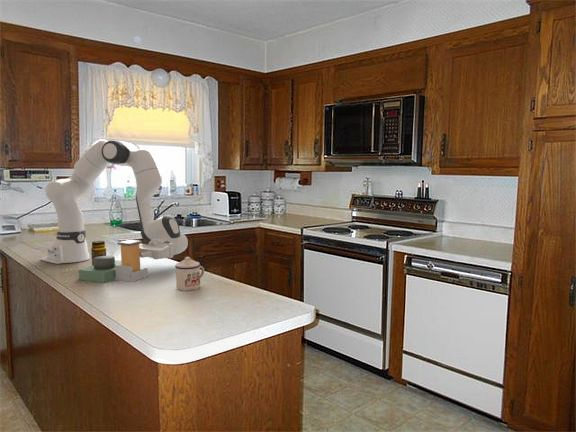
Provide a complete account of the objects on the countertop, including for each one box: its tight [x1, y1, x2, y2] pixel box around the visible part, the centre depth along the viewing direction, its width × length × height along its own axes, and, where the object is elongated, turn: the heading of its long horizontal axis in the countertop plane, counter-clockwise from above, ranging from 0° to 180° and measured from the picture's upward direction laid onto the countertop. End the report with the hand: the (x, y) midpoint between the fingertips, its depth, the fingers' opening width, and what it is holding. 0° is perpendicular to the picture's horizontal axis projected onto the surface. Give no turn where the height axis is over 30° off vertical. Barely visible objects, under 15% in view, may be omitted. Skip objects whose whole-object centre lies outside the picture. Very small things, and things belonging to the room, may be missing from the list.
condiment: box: [90, 240, 107, 266], centre depth 197 cm, size 7×8×12 cm
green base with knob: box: [77, 255, 149, 284], centre depth 183 cm, size 22×19×8 cm
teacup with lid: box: [174, 256, 205, 292], centre depth 168 cm, size 12×9×12 cm
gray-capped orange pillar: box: [117, 239, 143, 272], centre depth 180 cm, size 6×6×14 cm
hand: (132, 254), depth 181 cm, fingers open, 8 cm apart
